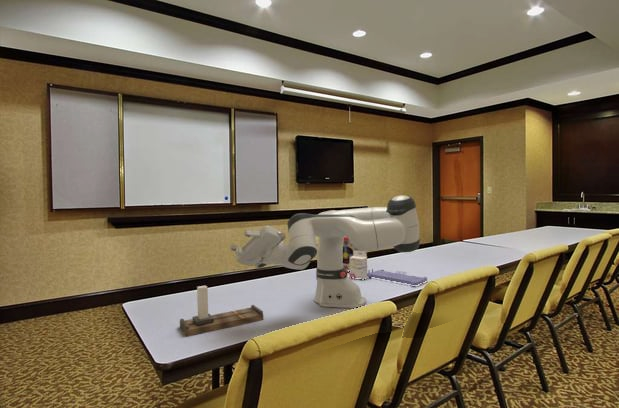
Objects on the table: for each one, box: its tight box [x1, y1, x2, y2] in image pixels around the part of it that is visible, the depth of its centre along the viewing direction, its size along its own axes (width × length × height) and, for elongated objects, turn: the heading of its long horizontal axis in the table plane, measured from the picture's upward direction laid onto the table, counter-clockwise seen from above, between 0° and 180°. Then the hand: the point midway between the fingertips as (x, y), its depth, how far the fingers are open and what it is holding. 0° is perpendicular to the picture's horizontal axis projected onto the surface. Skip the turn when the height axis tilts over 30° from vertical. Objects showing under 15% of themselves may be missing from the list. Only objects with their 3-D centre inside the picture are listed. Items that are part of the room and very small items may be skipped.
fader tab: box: [191, 285, 214, 325], centre depth 127 cm, size 6×6×12 cm
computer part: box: [367, 268, 428, 285], centre depth 189 cm, size 30×4×15 cm
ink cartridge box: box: [349, 251, 368, 280], centre depth 193 cm, size 9×5×15 cm, turn 58°
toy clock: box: [343, 236, 362, 270], centre depth 210 cm, size 20×6×20 cm, turn 70°
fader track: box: [179, 304, 264, 337], centre depth 131 cm, size 28×10×3 cm, turn 121°
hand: (238, 239), depth 123 cm, fingers open, 8 cm apart
